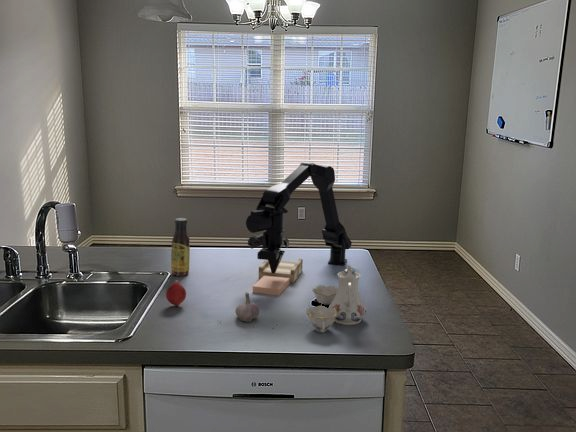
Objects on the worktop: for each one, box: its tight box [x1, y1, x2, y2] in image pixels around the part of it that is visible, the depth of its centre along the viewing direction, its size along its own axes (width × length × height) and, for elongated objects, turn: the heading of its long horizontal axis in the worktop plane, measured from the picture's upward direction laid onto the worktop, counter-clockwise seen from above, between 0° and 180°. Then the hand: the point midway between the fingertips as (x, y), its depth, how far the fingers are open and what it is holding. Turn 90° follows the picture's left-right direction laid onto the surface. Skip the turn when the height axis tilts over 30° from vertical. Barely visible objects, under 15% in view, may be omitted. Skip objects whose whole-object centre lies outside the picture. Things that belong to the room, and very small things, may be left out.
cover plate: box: [252, 275, 291, 296], centre depth 184 cm, size 12×9×2 cm
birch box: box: [258, 258, 304, 284], centre depth 196 cm, size 14×12×4 cm
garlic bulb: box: [235, 291, 260, 323], centre depth 158 cm, size 8×7×8 cm
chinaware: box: [306, 264, 367, 333], centre depth 159 cm, size 28×17×17 cm, turn 177°
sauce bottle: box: [170, 217, 191, 277], centre depth 193 cm, size 7×6×20 cm
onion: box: [165, 280, 187, 307], centre depth 166 cm, size 6×6×8 cm
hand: (273, 273), depth 186 cm, fingers closed
